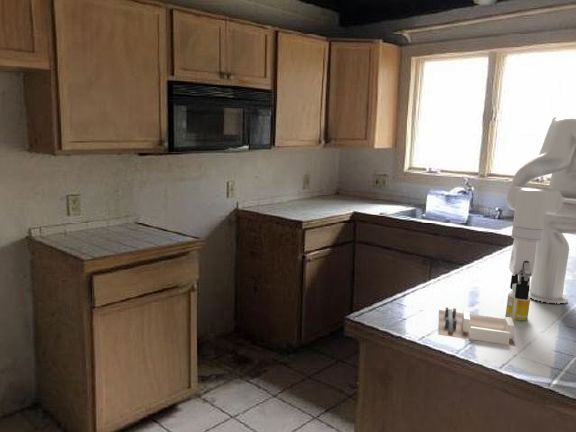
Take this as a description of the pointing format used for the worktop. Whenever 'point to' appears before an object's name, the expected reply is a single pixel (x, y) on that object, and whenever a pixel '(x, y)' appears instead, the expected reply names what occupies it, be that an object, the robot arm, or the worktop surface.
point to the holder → (489, 331)
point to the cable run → (450, 320)
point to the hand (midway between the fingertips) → (518, 294)
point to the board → (474, 321)
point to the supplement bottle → (517, 306)
